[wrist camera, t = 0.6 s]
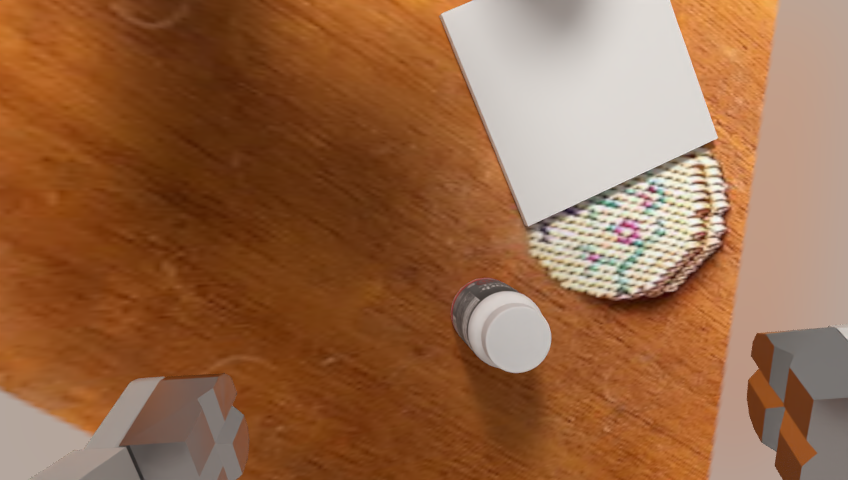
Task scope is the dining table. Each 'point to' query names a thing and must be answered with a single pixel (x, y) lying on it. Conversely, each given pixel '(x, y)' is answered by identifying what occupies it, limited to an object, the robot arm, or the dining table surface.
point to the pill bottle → (501, 325)
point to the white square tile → (578, 93)
